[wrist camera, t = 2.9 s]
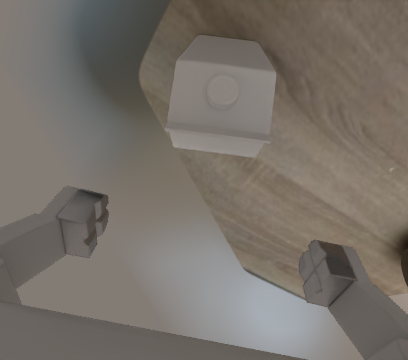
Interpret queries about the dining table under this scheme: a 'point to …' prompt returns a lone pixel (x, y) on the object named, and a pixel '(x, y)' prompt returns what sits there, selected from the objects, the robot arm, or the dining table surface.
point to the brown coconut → (405, 265)
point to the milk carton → (222, 97)
